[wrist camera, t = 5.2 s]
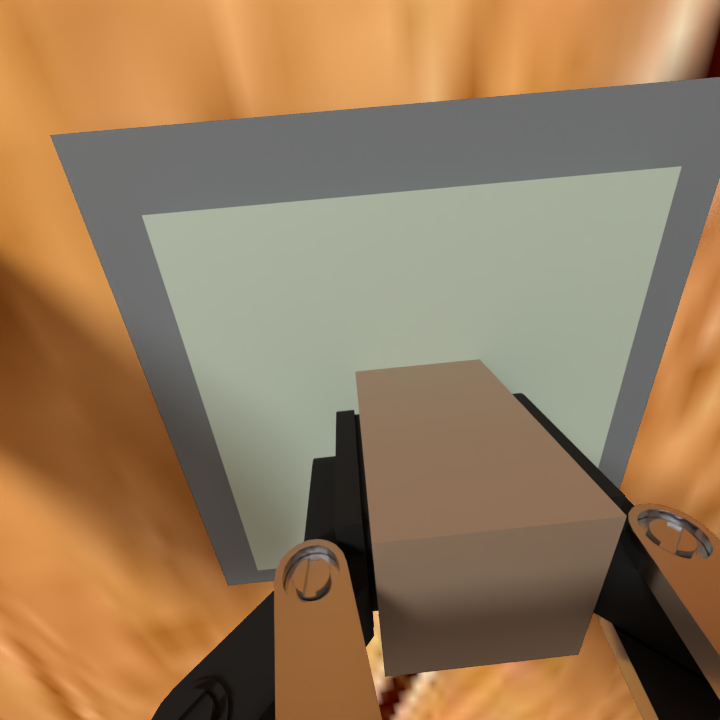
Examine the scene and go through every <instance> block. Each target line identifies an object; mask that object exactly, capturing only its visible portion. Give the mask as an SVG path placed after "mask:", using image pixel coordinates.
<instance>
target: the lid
mask: <svg viewBox="0 0 720 720" xmlns="http://www.w3.org/2000/svg"><path fill="white" fill-rule="evenodd" d="M681 167H682V166H679V167H668V168H657V169H646V170H635V171H624V172H613V173H602V174H591V175H580V176H569V177H558V178H547V179H536V180H525V181H514V182H503V183H492V184H481V185H470V186H459V187H448V188H437V189H426V190H415V191H404V192H393V193H382V194H371V195H360V196H349V197H338V198H327V199H316V200H305V201H294V202H283V203H272V204H261V205H250V206H239V207H228V208H217V209H206V210H195V211H184V212H173V213H162V214H151V215H142V218H143V221H144V224H145V227H146V230H147V233H148V236H149V239H150V242H151V245H152V248H153V251H154V254H155V257H156V260H157V263H158V267H159V270H160V273H161V276H162V279H163V282H164V285H165V288H166V291H167V294H168V297H169V300H170V303H171V306H172V309H173V312H174V316H175V319H176V322H177V325H178V328H179V331H180V334H181V337H182V340H183V343H184V346H185V349H186V352H187V355H188V358H189V361H190V364H191V368H192V371H193V374H194V377H195V380H196V383H197V386H198V389H199V392H200V395H201V398H202V401H203V404H204V407H205V410H206V413H207V417H208V420H209V423H210V426H211V429H212V432H213V435H214V438H215V441H216V444H217V447H218V450H219V453H220V456H221V459H222V462H223V465H224V469H225V472H226V475H227V478H228V481H229V484H230V487H231V490H232V493H233V496H234V499H235V502H236V505H237V508H238V511H239V514H240V518H241V521H242V524H243V527H244V530H245V533H246V536H247V539H248V542H249V545H250V548H251V551H252V554H253V557H254V560H255V563H256V566H257V570H267V569H276V568H277V567H278V565H279V563H280V561H281V560H282V558H283V557H284V556H285V555H286V553H287V552H288V551H289V550H291V549H292V548H293V547H295V546H296V545H297V544H300V543H302V542H304V537H305V527H306V518H307V509H308V500H309V490H310V481H311V472H312V463H313V459H314V458H323V457H332V456H335V453H336V412H337V411H347V410H354V413H355V414H359V416H360V426H361V437H362V447H363V458H364V468H365V478H366V489H367V499H368V510H369V520H370V531H371V541H372V551H373V561H374V571H375V581H376V591H377V601H378V611H379V621H380V630H381V640H382V650H383V660H384V670H385V677H387V676H396V675H404V674H413V673H422V672H430V671H439V670H448V669H457V668H465V667H474V666H483V665H492V664H500V663H509V662H518V661H526V660H535V659H544V658H553V657H561V656H570V655H578V654H579V651H580V648H581V646H582V643H583V640H584V637H585V634H586V631H587V628H588V626H589V623H590V620H591V617H592V614H593V611H594V608H595V606H596V603H597V600H598V597H599V594H600V591H601V589H602V586H603V583H604V580H605V577H606V574H607V571H608V569H609V566H610V563H611V560H612V557H613V554H614V552H615V549H616V546H617V543H618V540H619V537H620V534H621V532H622V529H623V526H624V523H625V520H626V517H627V516H626V515H625V514H624V513H623V512H622V510H621V509H620V508H619V507H618V506H617V505H616V504H615V503H614V502H613V501H612V500H611V499H610V498H609V497H608V496H607V494H606V493H605V492H604V491H603V490H602V489H601V488H600V487H599V486H598V485H597V484H596V483H595V482H594V481H593V480H592V479H591V477H590V476H589V475H588V474H587V473H586V472H585V471H584V470H583V469H582V468H581V467H580V466H579V465H578V464H577V463H576V461H575V460H574V459H573V458H572V457H571V456H570V455H569V454H568V453H567V452H566V451H565V450H564V449H563V448H562V447H561V446H560V444H559V443H558V442H557V441H556V440H555V439H554V438H553V437H552V436H551V435H550V434H549V433H548V432H547V431H546V430H545V428H544V427H543V426H542V425H541V424H540V423H539V422H538V421H537V420H536V419H535V418H534V417H533V416H532V415H531V414H530V413H529V411H528V410H527V409H526V408H525V407H524V406H523V405H522V404H521V403H520V402H519V401H518V400H517V399H516V398H515V397H514V395H513V394H515V393H522V394H524V395H525V396H526V397H527V398H528V399H529V400H530V401H531V402H532V403H533V404H534V405H535V406H536V407H537V408H538V409H539V410H540V411H541V412H542V413H543V414H544V415H545V416H546V417H547V418H548V419H549V420H550V421H551V422H552V423H553V424H554V425H555V426H556V427H557V428H558V429H559V430H560V431H561V432H562V433H563V434H564V435H565V436H566V437H567V438H568V439H569V440H570V441H571V442H572V443H573V444H574V445H575V446H576V447H577V448H578V449H579V450H580V451H581V452H582V453H583V454H584V455H585V456H586V457H587V458H588V459H589V460H590V461H591V462H592V463H593V464H594V465H595V466H596V467H597V468H598V467H599V463H600V459H601V456H602V452H603V449H604V445H605V441H606V438H607V434H608V431H609V427H610V423H611V420H612V416H613V413H614V409H615V405H616V402H617V398H618V395H619V391H620V387H621V384H622V380H623V376H624V373H625V369H626V366H627V362H628V358H629V355H630V351H631V348H632V344H633V340H634V337H635V333H636V330H637V326H638V322H639V319H640V315H641V312H642V308H643V304H644V301H645V297H646V294H647V290H648V286H649V283H650V279H651V275H652V272H653V268H654V265H655V261H656V257H657V254H658V250H659V247H660V243H661V239H662V236H663V232H664V229H665V225H666V221H667V218H668V214H669V211H670V207H671V203H672V200H673V196H674V192H675V189H676V185H677V182H678V178H679V174H680V171H681Z"/></svg>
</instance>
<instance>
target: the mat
mask: <svg viewBox="0 0 720 720" xmlns="http://www.w3.org/2000/svg"><path fill="white" fill-rule="evenodd" d="M50 136H51V138H52V141H53V144H54V146H55V149H56V151H57V154H58V156H59V159H60V161H61V164H62V166H63V169H64V171H65V174H66V176H67V179H68V181H69V184H70V187H71V189H72V192H73V194H74V197H75V199H76V202H77V204H78V207H79V209H80V212H81V214H82V217H83V219H84V222H85V224H86V227H87V230H88V232H89V235H90V237H91V240H92V242H93V245H94V247H95V250H96V252H97V255H98V257H99V260H100V262H101V265H102V267H103V270H104V273H105V275H106V278H107V280H108V283H109V285H110V288H111V290H112V293H113V295H114V298H115V300H116V303H117V305H118V308H119V310H120V313H121V316H122V318H123V321H124V323H125V326H126V328H127V331H128V333H129V336H130V338H131V341H132V343H133V346H134V348H135V351H136V353H137V356H138V359H139V361H140V364H141V366H142V369H143V371H144V374H145V376H146V379H147V381H148V384H149V386H150V389H151V391H152V394H153V396H154V399H155V402H156V404H157V407H158V409H159V412H160V414H161V417H162V419H163V422H164V424H165V427H166V429H167V432H168V434H169V437H170V439H171V442H172V445H173V447H174V450H175V452H176V455H177V457H178V460H179V462H180V465H181V467H182V470H183V472H184V475H185V477H186V480H187V482H188V485H189V488H190V490H191V493H192V495H193V498H194V500H195V503H196V505H197V508H198V510H199V513H200V515H201V518H202V520H203V523H204V525H205V528H206V531H207V533H208V536H209V538H210V541H211V543H212V546H213V548H214V551H215V553H216V556H217V558H218V561H219V563H220V566H221V568H222V571H223V574H224V576H225V579H226V581H227V584H228V586H229V585H238V584H247V583H256V582H266V581H274V580H275V573H276V570H277V568H276V569H267V570H257V566H256V563H255V560H254V557H253V554H252V551H251V548H250V545H249V542H248V539H247V536H246V533H245V530H244V527H243V524H242V521H241V518H240V514H239V511H238V508H237V505H236V502H235V499H234V496H233V493H232V490H231V487H230V484H229V481H228V478H227V475H226V472H225V469H224V465H223V462H222V459H221V456H220V453H219V450H218V447H217V444H216V441H215V438H214V435H213V432H212V429H211V426H210V423H209V420H208V417H207V413H206V410H205V407H204V404H203V401H202V398H201V395H200V392H199V389H198V386H197V383H196V380H195V377H194V374H193V371H192V368H191V364H190V361H189V358H188V355H187V352H186V349H185V346H184V343H183V340H182V337H181V334H180V331H179V328H178V325H177V322H176V319H175V316H174V312H173V309H172V306H171V303H170V300H169V297H168V294H167V291H166V288H165V285H164V282H163V279H162V276H161V273H160V270H159V267H158V263H157V260H156V257H155V254H154V251H153V248H152V245H151V242H150V239H149V236H148V233H147V230H146V227H145V224H144V221H143V218H142V215H151V214H162V213H173V212H184V211H195V210H206V209H217V208H228V207H239V206H250V205H261V204H272V203H283V202H294V201H305V200H316V199H327V198H338V197H349V196H360V195H371V194H382V193H393V192H404V191H415V190H426V189H437V188H448V187H459V186H470V185H481V184H492V183H503V182H514V181H525V180H536V179H547V178H558V177H569V176H580V175H591V174H602V173H613V172H624V171H635V170H646V169H657V168H668V167H679V166H682V167H681V171H680V174H679V178H678V182H677V185H676V189H675V192H674V196H673V200H672V203H671V207H670V211H669V214H668V218H667V221H666V225H665V229H664V232H663V236H662V239H661V243H660V247H659V250H658V254H657V257H656V261H655V265H654V268H653V272H652V275H651V279H650V283H649V286H648V290H647V294H646V297H645V301H644V304H643V308H642V312H641V315H640V319H639V322H638V326H637V330H636V333H635V337H634V340H633V344H632V348H631V351H630V355H629V358H628V362H627V366H626V369H625V373H624V376H623V380H622V384H621V387H620V391H619V395H618V398H617V402H616V405H615V409H614V413H613V416H612V420H611V423H610V427H609V431H608V434H607V438H606V441H605V445H604V449H603V452H602V456H601V459H600V463H599V467H598V469H599V470H600V471H601V472H602V473H603V474H604V475H605V476H606V477H607V478H608V479H609V480H610V481H611V482H612V483H613V484H614V485H615V486H616V487H617V488H618V489H619V488H620V485H621V482H622V479H623V476H624V473H625V470H626V467H627V464H628V461H629V457H630V454H631V451H632V448H633V445H634V442H635V439H636V436H637V433H638V430H639V426H640V423H641V420H642V417H643V414H644V411H645V408H646V405H647V402H648V399H649V395H650V392H651V389H652V386H653V383H654V380H655V377H656V374H657V371H658V368H659V364H660V361H661V358H662V355H663V352H664V349H665V346H666V343H667V340H668V336H669V333H670V330H671V327H672V324H673V321H674V318H675V315H676V312H677V309H678V305H679V302H680V299H681V296H682V293H683V290H684V287H685V284H686V281H687V278H688V274H689V271H690V268H691V265H692V262H693V259H694V256H695V253H696V250H697V247H698V243H699V240H700V237H701V234H702V231H703V228H704V225H705V222H706V219H707V216H708V212H709V209H710V206H711V203H712V200H713V197H714V194H715V191H716V188H717V185H718V181H719V178H720V77H717V78H705V79H693V80H682V81H670V82H659V83H647V84H636V85H624V86H613V87H601V88H589V89H578V90H566V91H555V92H543V93H532V94H520V95H509V96H497V97H486V98H474V99H462V100H451V101H439V102H428V103H416V104H405V105H393V106H382V107H370V108H359V109H347V110H335V111H324V112H312V113H301V114H289V115H278V116H266V117H255V118H243V119H231V120H220V121H208V122H197V123H185V124H174V125H162V126H151V127H139V128H128V129H116V130H104V131H93V132H81V133H70V134H58V135H50Z"/></svg>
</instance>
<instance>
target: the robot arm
mask: <svg viewBox="0 0 720 720" xmlns="http://www.w3.org/2000/svg"><path fill="white" fill-rule="evenodd" d="M513 395H514V397H515V398H516V399H517V400H518V401H519V402H520V403H521V404H522V405H523V406H524V407H525V408H526V409H527V410H528V411H529V413H530V414H531V415H532V416H533V417H534V418H535V419H536V420H537V421H538V422H539V423H540V424H541V425H542V426H543V427H544V428H545V430H546V431H547V432H548V433H549V434H550V435H551V436H552V437H553V438H554V439H555V440H556V441H557V442H558V443H559V444H560V446H561V447H562V448H563V449H564V450H565V451H566V452H567V453H568V454H569V455H570V456H571V457H572V458H573V459H574V460H575V461H576V463H577V464H578V465H579V466H580V467H581V468H582V469H583V470H584V471H585V472H586V473H587V474H588V475H589V476H590V477H591V479H592V480H593V481H594V482H595V483H596V484H597V485H598V486H599V487H600V488H601V489H602V490H603V491H604V492H605V493H606V494H607V496H608V497H609V498H610V499H611V500H612V501H613V502H614V503H615V504H616V505H617V506H618V507H619V508H620V509H621V510H622V512H623V513H624V514H625V515H626V516H627V517H626V520H625V523H624V526H623V529H622V532H621V534H620V537H619V540H618V543H617V546H616V549H615V552H614V554H613V557H612V560H611V563H610V566H609V569H608V571H607V574H606V577H605V580H604V583H603V586H602V589H601V591H600V594H599V597H598V600H597V603H596V606H595V608H594V611H593V612H594V613H595V614H597V617H598V621H599V624H600V626H601V628H602V630H603V632H604V635H605V637H606V639H607V641H608V643H609V646H610V648H611V650H612V652H613V654H614V657H615V659H616V661H617V663H618V665H619V668H620V670H621V672H622V674H623V676H624V679H625V681H626V683H627V685H628V687H629V690H630V692H631V694H632V696H633V698H634V701H635V703H636V705H637V707H638V709H639V712H640V714H641V716H642V718H643V720H720V540H719V539H718V538H717V537H716V536H715V535H714V534H713V533H712V532H711V531H710V530H709V529H708V528H707V527H705V526H704V525H703V524H701V523H700V522H698V521H697V520H695V519H694V518H692V517H691V516H689V515H687V514H684V513H682V512H680V511H678V510H676V509H673V508H669V507H666V506H663V505H657V504H639V505H637V506H634V505H633V504H632V503H631V502H630V501H629V500H628V499H627V498H626V497H625V495H624V494H623V493H622V492H621V491H620V490H619V489H618V488H617V487H616V486H615V485H614V484H613V483H612V482H611V481H610V480H609V479H608V478H607V477H606V476H605V475H604V474H603V473H602V472H601V471H600V470H599V469H598V468H597V467H596V466H595V465H594V464H593V463H592V462H591V461H590V460H589V459H588V458H587V457H586V456H585V455H584V454H583V453H582V452H581V451H580V450H579V449H578V448H577V447H576V446H575V445H574V444H573V443H572V442H571V441H570V440H569V439H568V438H567V437H566V436H565V435H564V434H563V433H562V432H561V431H560V430H559V429H558V428H557V427H556V426H555V425H554V424H553V423H552V422H551V421H550V420H549V419H548V418H547V417H546V416H545V415H544V414H543V413H542V412H541V411H540V410H539V409H538V408H537V407H536V406H535V405H534V404H533V403H532V402H531V401H530V400H529V399H528V398H527V397H526V396H525V395H524V394H522V393H515V394H513ZM373 611H378V601H377V591H376V581H375V571H374V561H373V551H372V541H371V531H370V520H369V510H368V499H367V489H366V478H365V468H364V458H363V447H362V437H361V426H360V416H359V414H355V413H354V410H347V411H337V412H336V453H335V456H332V457H323V458H314V459H313V463H312V472H311V481H310V490H309V500H308V509H307V518H306V527H305V537H304V542H302V543H300V544H297V545H296V546H295V547H293V548H292V549H291V550H289V551H288V552H287V553H286V555H285V556H284V557H283V558H282V560H281V561H280V563H279V565H278V567H277V570H276V573H275V580H274V591H273V592H272V593H271V594H270V595H269V596H268V597H267V598H266V599H265V600H264V601H263V602H262V603H261V604H260V605H259V606H258V607H257V608H256V609H255V610H253V611H252V612H251V613H250V614H249V615H248V616H247V617H246V618H245V619H244V620H243V621H242V622H241V623H240V624H239V625H238V626H237V627H236V628H235V629H234V630H233V631H232V632H231V633H230V634H229V635H228V636H227V637H226V638H225V639H224V640H223V641H222V642H221V643H220V644H219V645H218V646H217V647H216V648H215V649H214V650H213V651H212V652H210V653H209V654H208V655H207V656H206V657H205V658H204V659H203V660H202V661H201V662H200V663H199V664H198V665H197V666H196V667H195V668H194V669H193V670H192V671H191V672H190V673H189V674H188V675H187V676H186V677H185V678H184V679H183V680H182V681H181V682H180V683H179V684H178V685H177V686H176V687H175V688H174V689H173V690H172V691H171V692H170V693H169V695H168V696H167V697H166V698H165V699H164V701H163V702H162V703H161V704H160V706H159V708H158V709H157V711H156V713H155V715H154V716H153V718H152V720H382V718H381V714H380V709H379V705H378V700H377V696H376V691H375V687H374V682H373V678H372V673H371V669H370V664H369V660H368V655H367V651H366V646H367V645H368V644H369V642H370V641H371V639H372V638H373V636H374V631H373V627H374V621H373Z"/></svg>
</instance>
